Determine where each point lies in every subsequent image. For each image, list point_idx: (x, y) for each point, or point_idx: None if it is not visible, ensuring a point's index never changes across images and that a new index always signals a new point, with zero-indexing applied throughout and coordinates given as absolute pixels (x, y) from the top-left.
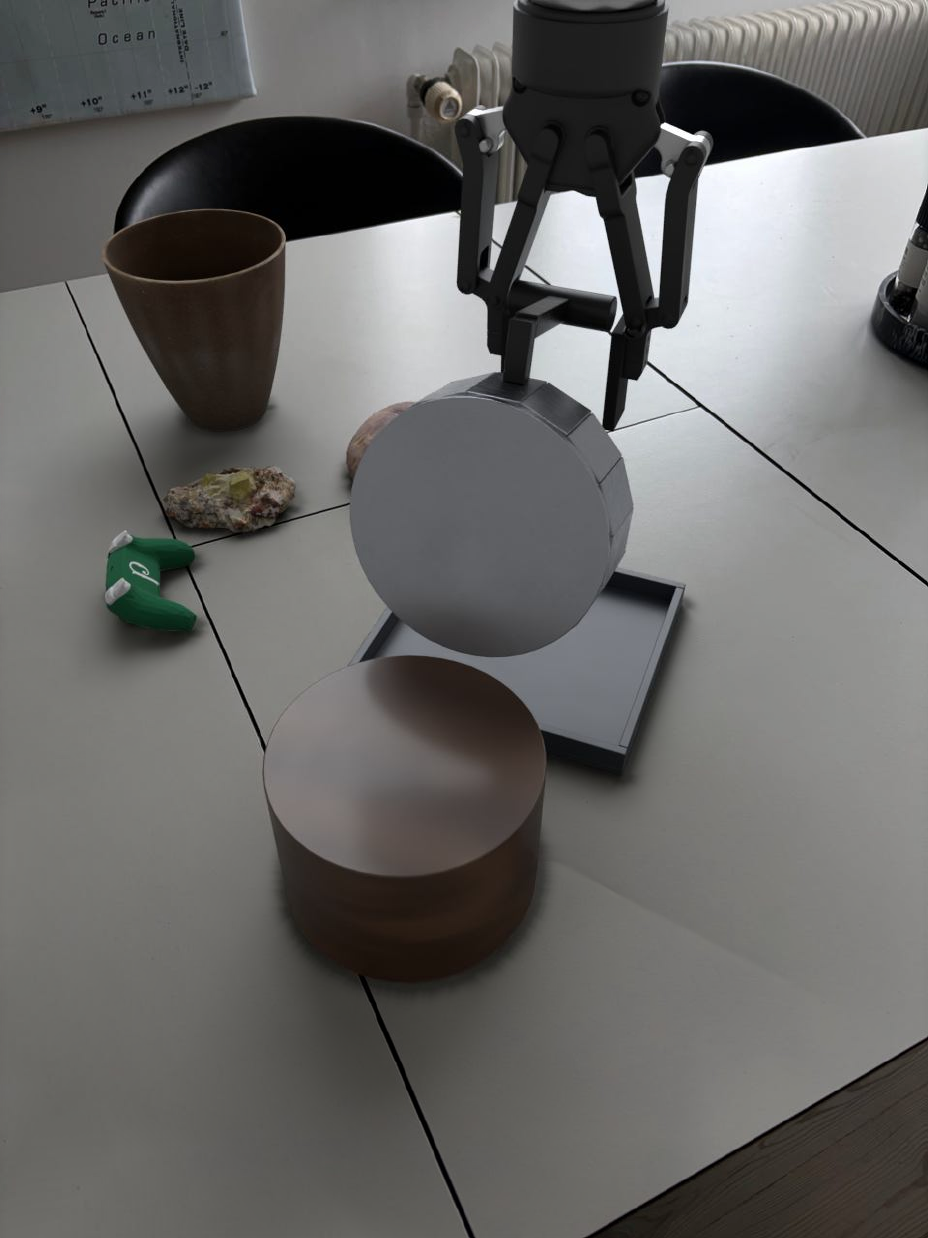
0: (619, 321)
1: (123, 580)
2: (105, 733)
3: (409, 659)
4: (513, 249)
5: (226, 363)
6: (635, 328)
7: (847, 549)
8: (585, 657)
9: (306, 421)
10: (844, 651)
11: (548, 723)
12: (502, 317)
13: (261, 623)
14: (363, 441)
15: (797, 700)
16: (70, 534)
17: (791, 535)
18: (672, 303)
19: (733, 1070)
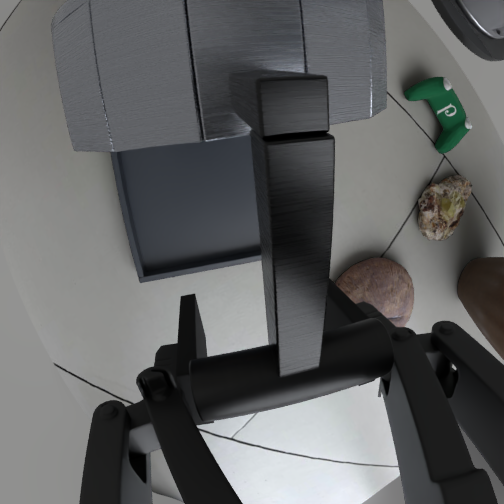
0: None
1: (449, 85)
2: (388, 18)
3: None
4: (425, 401)
5: (496, 278)
6: (151, 382)
7: (91, 369)
8: (171, 186)
9: (437, 299)
10: (49, 287)
11: None
12: None
13: (378, 115)
14: (407, 285)
15: (50, 232)
16: (484, 145)
17: (121, 368)
18: (101, 432)
19: (26, 17)
